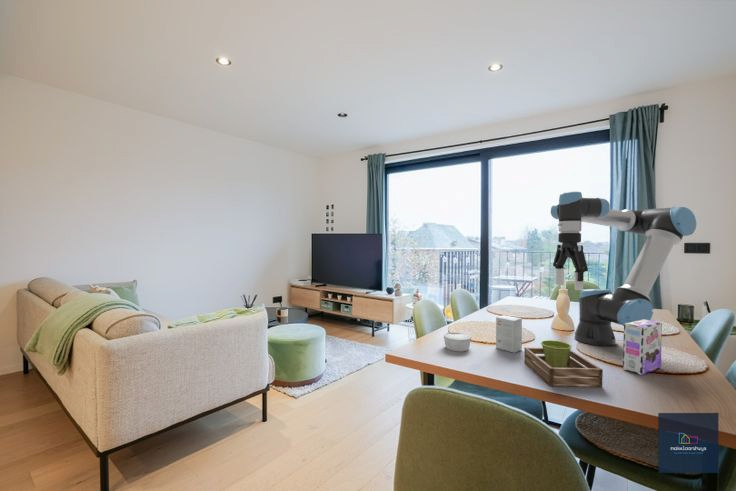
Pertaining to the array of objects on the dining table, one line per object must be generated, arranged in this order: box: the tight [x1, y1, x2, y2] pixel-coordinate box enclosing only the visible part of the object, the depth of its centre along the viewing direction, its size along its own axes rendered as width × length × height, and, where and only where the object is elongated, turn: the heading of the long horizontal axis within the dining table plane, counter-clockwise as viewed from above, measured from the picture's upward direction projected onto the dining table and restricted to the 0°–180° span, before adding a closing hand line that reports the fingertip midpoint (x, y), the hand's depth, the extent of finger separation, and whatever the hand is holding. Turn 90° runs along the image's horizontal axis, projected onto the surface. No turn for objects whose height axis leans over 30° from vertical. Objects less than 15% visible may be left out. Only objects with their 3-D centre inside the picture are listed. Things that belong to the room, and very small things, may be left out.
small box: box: [495, 314, 523, 353], centre depth 139 cm, size 8×6×13 cm
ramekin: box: [443, 332, 472, 353], centre depth 140 cm, size 11×11×5 cm
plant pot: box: [540, 339, 573, 368], centre depth 117 cm, size 9×9×9 cm
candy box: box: [622, 319, 663, 376], centre depth 118 cm, size 14×6×16 cm, turn 117°
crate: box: [523, 347, 604, 389], centre depth 113 cm, size 16×20×6 cm
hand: (568, 287), depth 130 cm, fingers open, 13 cm apart
